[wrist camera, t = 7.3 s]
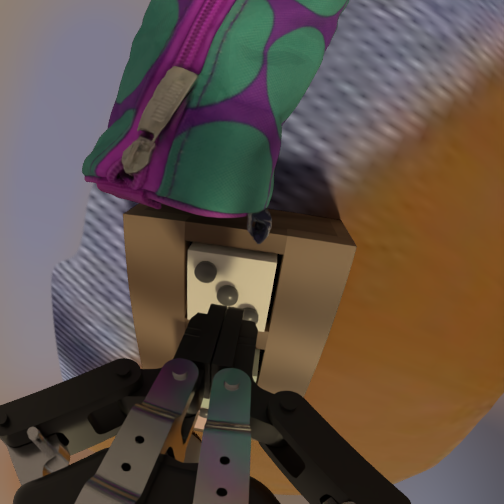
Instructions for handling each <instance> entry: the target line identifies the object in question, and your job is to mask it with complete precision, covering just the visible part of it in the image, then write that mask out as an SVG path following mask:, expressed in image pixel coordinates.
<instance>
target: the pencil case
mask: <svg viewBox="0 0 504 504" xmlns="http://www.w3.org/2000/svg"><path fill="white" fill-rule="evenodd" d="M348 2H349V0H151V2H150V4H149V6H148V8H147V10H146V13H145V15H144V18H143V22H142V26H141V28H140V29H139V31H138V33H137V34H136V36H135V38H134V40H133V43H132V47H131V52H130V58H129V61H128V63H127V65H126V67H125V70H124V73H123V77H122V80H121V83H120V87H119V91H118V95H117V98H116V101H115V104H114V107H113V109H112V112H111V116H110V119H109V124H108V129H107V130H106V131H105V132H104V133H103V134H102V135H101V137H100V138H99V140H98V141H97V143H96V146H95V148H94V149H93V151H92V152H91V154H90V155H89V156H88V157H86V159H85V161H84V163H83V168H82V173H83V174H84V175H85V181H86V182H93V183H97V187H98V189H99V190H101V191H103V192H106V193H109V194H112V195H115V196H116V197H118V198H122V199H127V200H130V201H134V202H137V203H141V204H144V205H147V206H150V207H153V208H155V209H161V203H162V204H165V205H168V206H171V207H174V208H177V209H180V210H183V211H186V212H189V213H192V214H196V215H201V216H206V217H215V218H237V217H244V216H248V221H247V231H248V232H249V233H250V235H251V236H252V237H253V240H255V242H256V243H257V244H261V243H262V242H263V241H264V240H265V239H266V238H267V236H268V235H269V232H270V230H271V224H272V218H271V214H270V213H269V211H268V210H267V207H268V205H269V202H270V199H271V196H272V192H273V186H274V170H275V166H276V163H277V160H278V156H279V152H280V147H281V133H282V127H281V126H282V125H283V123H284V122H285V121H286V119H287V118H288V117H289V116H290V114H291V113H292V112H293V111H294V109H295V108H296V107H297V105H298V103H299V102H300V100H301V98H302V97H303V95H304V94H305V92H306V90H307V88H308V87H309V85H310V83H311V81H312V79H313V78H314V76H315V74H316V72H317V70H318V69H319V67H320V65H321V62H322V60H323V55H324V52H325V51H326V49H327V47H328V46H329V44H330V42H331V40H332V38H333V36H334V34H335V32H336V29H337V26H338V18H339V16H340V14H341V13H342V12H343V10H344V9H345V7H346V6H347V4H348ZM253 221H254V222H255V226H254V227H253V226H252V224H253Z"/></svg>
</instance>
